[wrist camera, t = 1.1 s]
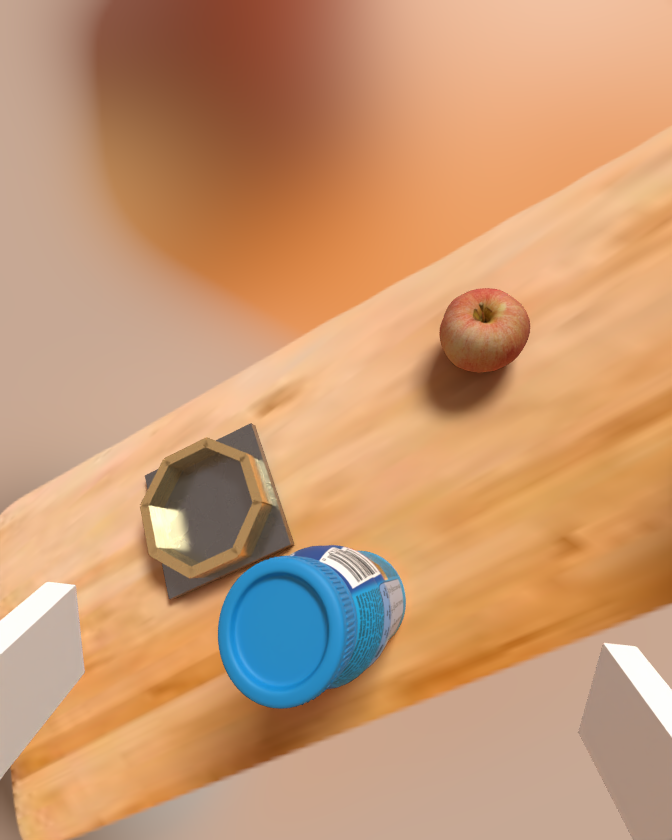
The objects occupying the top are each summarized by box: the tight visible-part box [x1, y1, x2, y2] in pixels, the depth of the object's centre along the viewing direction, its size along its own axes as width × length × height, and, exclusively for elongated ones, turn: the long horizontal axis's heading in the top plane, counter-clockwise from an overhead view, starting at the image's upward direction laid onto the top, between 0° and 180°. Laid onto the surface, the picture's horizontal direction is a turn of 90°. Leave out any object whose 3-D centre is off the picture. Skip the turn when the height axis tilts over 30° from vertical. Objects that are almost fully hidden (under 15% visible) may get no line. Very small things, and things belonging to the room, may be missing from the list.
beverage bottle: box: [218, 545, 406, 709], centre depth 29 cm, size 8×8×20 cm
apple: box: [440, 288, 530, 372], centre depth 39 cm, size 8×8×8 cm
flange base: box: [140, 423, 294, 599], centre depth 43 cm, size 14×14×4 cm
